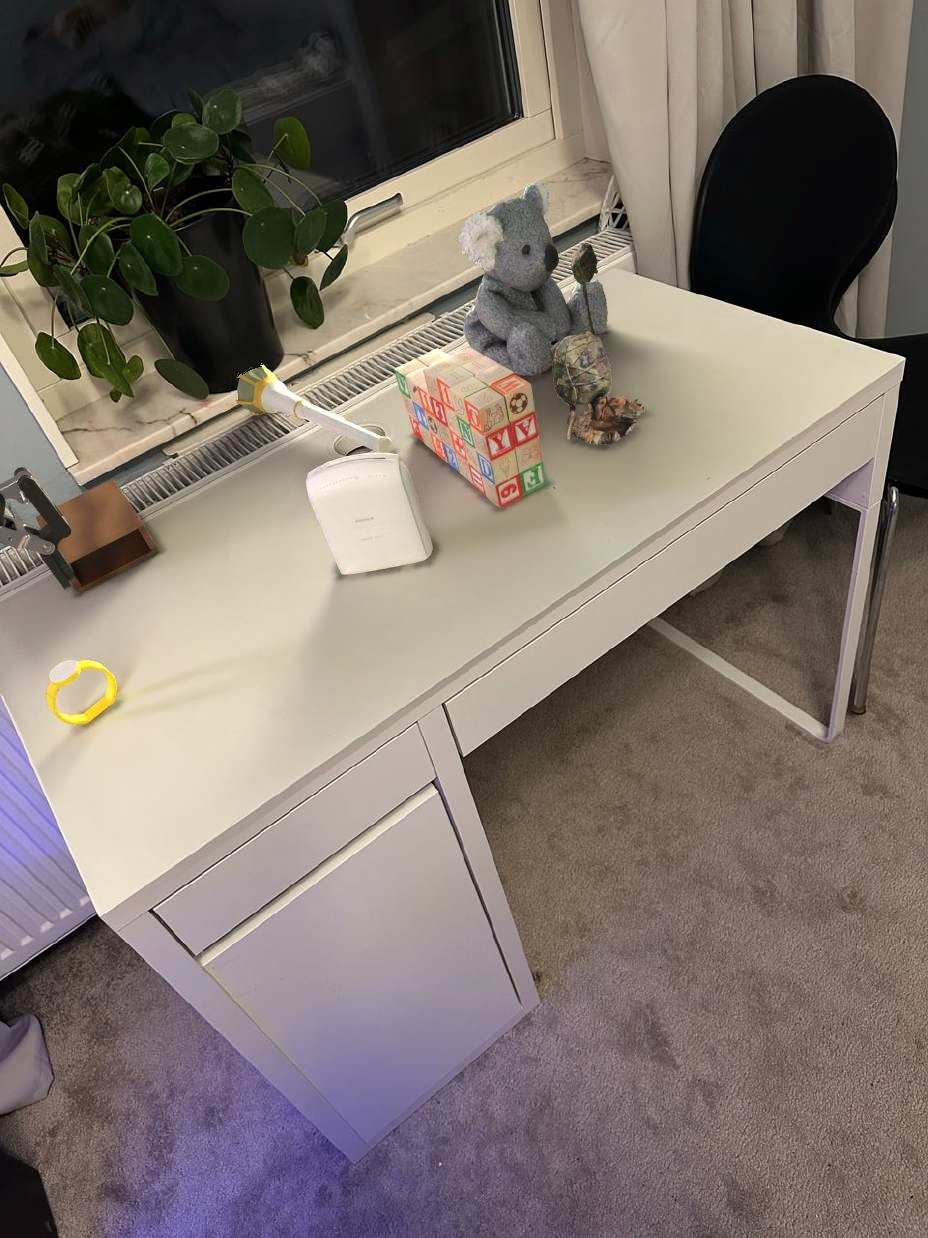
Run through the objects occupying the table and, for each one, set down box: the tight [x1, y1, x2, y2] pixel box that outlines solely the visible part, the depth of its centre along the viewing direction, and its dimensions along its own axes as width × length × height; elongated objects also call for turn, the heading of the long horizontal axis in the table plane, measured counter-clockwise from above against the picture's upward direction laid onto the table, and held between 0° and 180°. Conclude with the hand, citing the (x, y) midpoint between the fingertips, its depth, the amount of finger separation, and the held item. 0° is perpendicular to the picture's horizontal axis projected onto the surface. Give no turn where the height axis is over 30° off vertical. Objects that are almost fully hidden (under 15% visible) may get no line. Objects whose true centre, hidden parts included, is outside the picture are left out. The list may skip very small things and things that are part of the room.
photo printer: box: [305, 452, 434, 575], centre depth 84 cm, size 10×4×12 cm, turn 91°
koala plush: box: [456, 180, 609, 377], centre depth 110 cm, size 17×18×20 cm
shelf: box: [35, 478, 160, 595], centre depth 100 cm, size 10×13×4 cm
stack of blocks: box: [393, 346, 547, 509], centre depth 94 cm, size 21×6×12 cm, turn 30°
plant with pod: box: [547, 242, 647, 447], centre depth 90 cm, size 8×11×20 cm
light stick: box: [234, 364, 393, 453], centre depth 110 cm, size 7×6×30 cm
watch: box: [45, 659, 118, 726], centre depth 78 cm, size 6×3×6 cm, turn 136°
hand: (18, 609), depth 71 cm, fingers open, 8 cm apart
